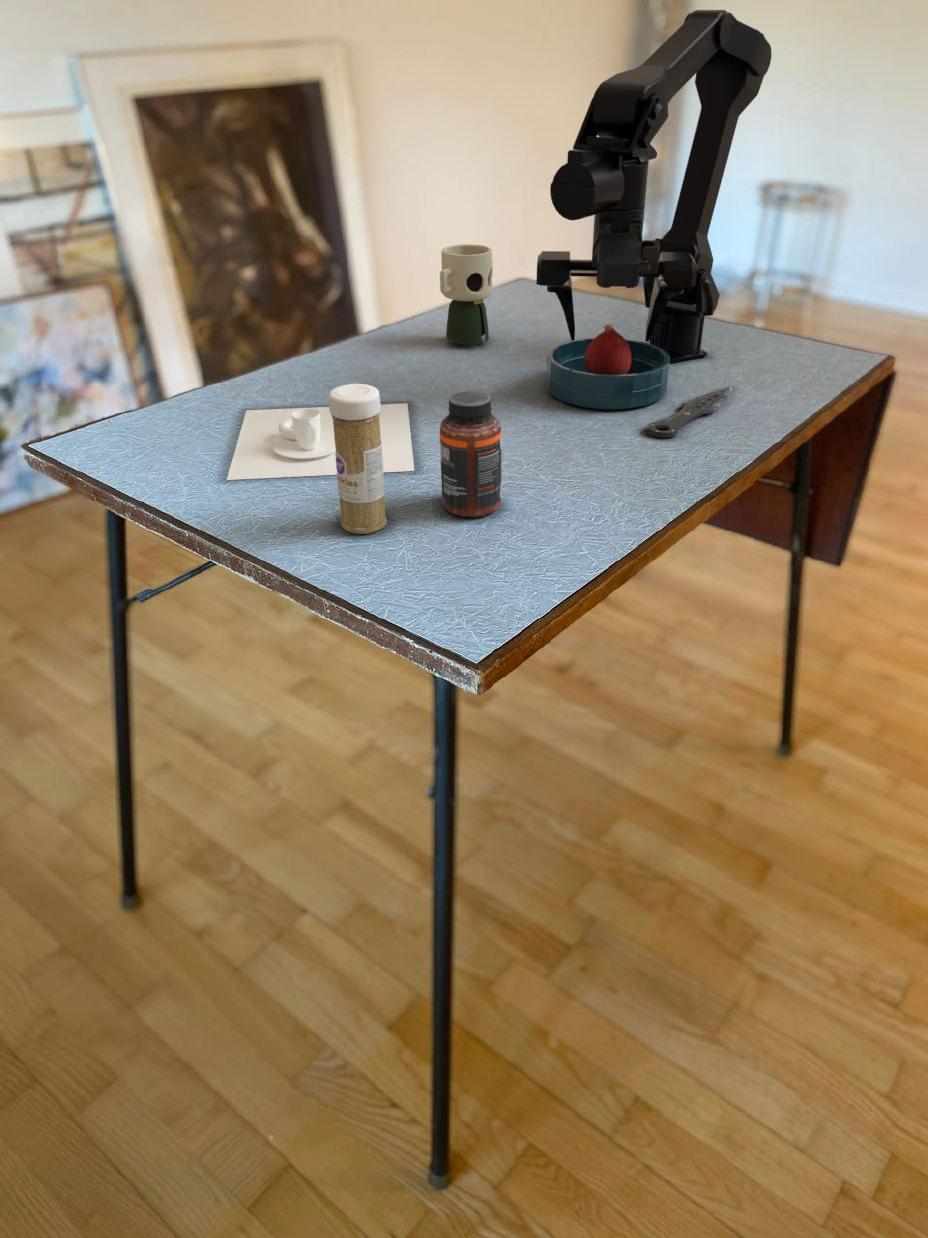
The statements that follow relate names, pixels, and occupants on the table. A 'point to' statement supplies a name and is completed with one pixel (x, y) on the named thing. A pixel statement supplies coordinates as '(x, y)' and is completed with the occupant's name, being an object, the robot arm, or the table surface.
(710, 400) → the throwing knife
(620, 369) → the onion
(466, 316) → the character mug
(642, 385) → the bowl
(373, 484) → the sprinkles bottle
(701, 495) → the table surface
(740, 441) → the table surface
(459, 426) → the supplement bottle
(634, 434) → the table surface
